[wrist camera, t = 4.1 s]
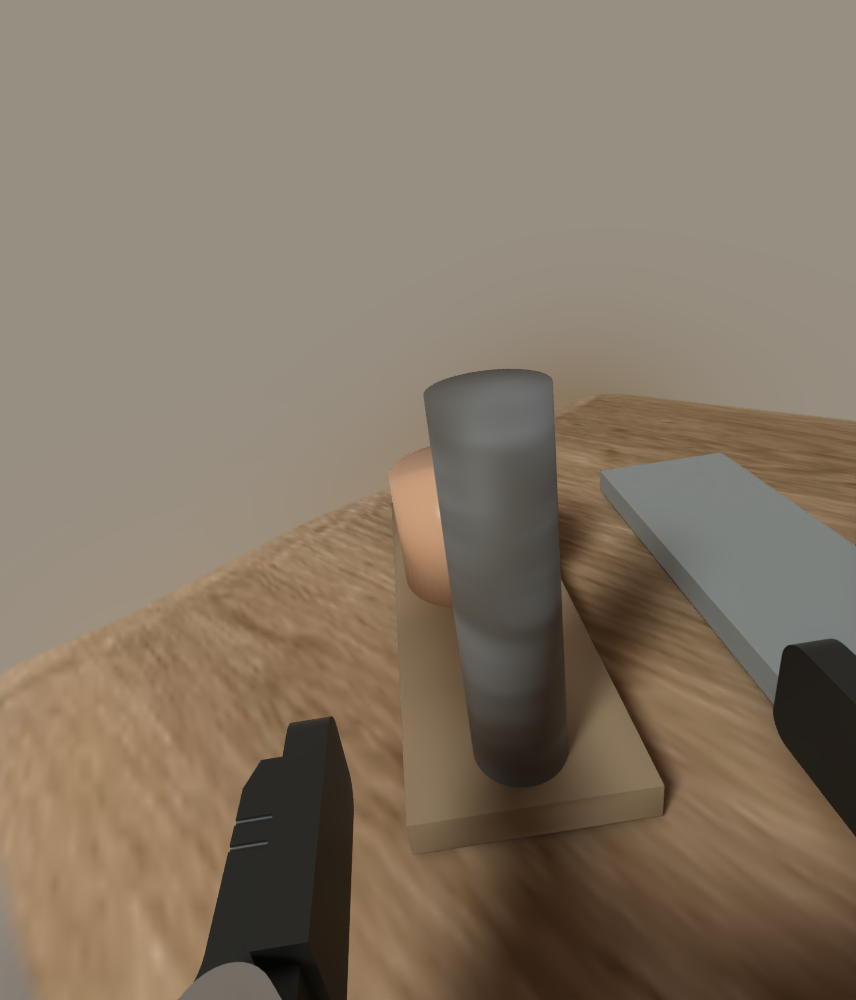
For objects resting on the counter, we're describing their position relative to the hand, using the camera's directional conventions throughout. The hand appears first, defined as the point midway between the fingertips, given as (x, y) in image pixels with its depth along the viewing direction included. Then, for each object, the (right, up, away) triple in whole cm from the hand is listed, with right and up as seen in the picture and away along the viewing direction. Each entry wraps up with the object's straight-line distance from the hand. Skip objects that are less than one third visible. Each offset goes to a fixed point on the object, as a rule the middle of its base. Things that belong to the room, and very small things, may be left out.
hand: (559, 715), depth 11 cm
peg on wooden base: (0, -1, +15) cm, 15 cm away
